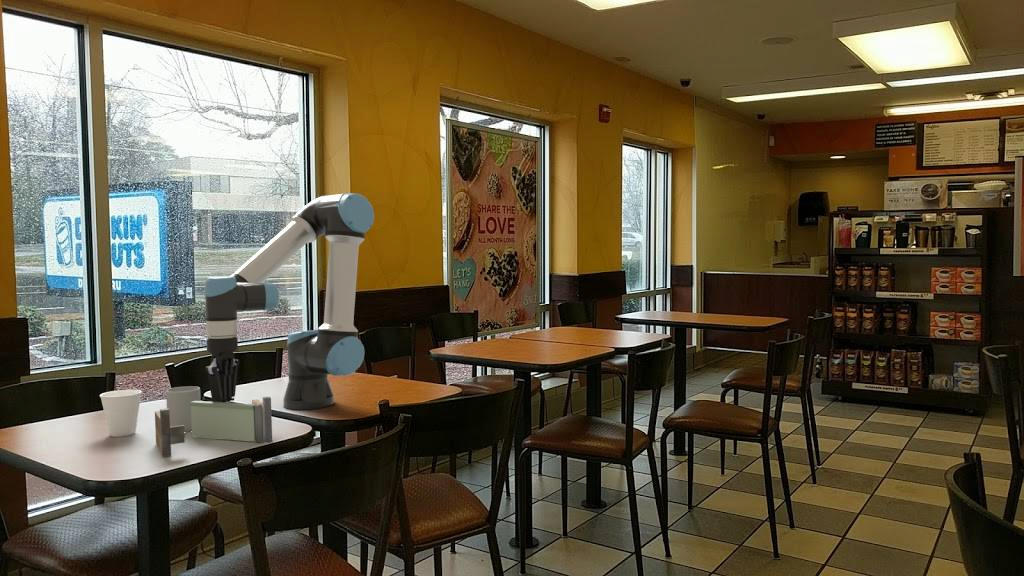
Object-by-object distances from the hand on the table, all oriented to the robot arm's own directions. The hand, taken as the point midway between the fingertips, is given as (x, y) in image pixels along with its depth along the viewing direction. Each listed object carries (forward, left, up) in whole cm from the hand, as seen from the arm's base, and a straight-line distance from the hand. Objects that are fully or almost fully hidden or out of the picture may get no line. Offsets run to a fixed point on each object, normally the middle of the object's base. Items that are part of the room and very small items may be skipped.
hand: (224, 426), depth 196 cm
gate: (0, +6, -2) cm, 6 cm away
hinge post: (-8, +7, -2) cm, 11 cm away
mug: (+7, -15, -2) cm, 16 cm away
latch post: (+14, +8, -2) cm, 16 cm away
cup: (+22, -17, -2) cm, 28 cm away
